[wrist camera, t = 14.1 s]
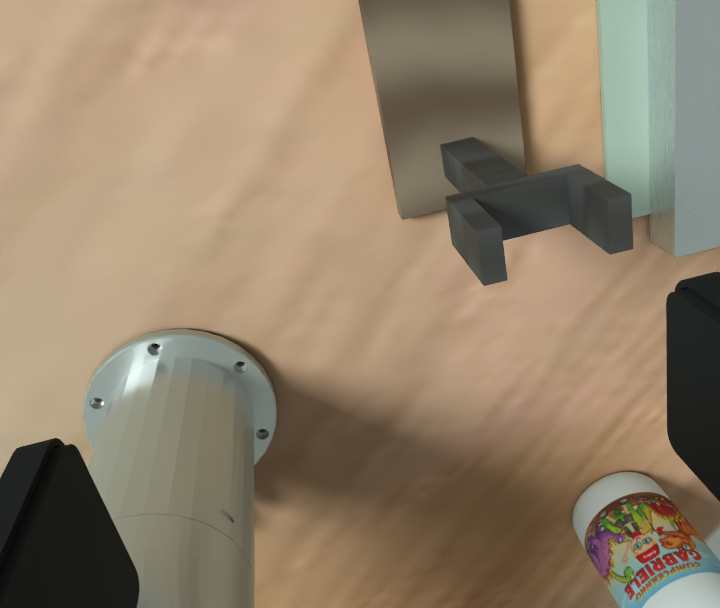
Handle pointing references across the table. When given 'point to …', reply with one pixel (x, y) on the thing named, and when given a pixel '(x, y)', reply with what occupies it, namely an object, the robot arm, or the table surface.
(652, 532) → the milk bottle
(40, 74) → the table surface
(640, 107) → the mat
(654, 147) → the rail
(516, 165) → the hook stand
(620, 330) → the table surface
